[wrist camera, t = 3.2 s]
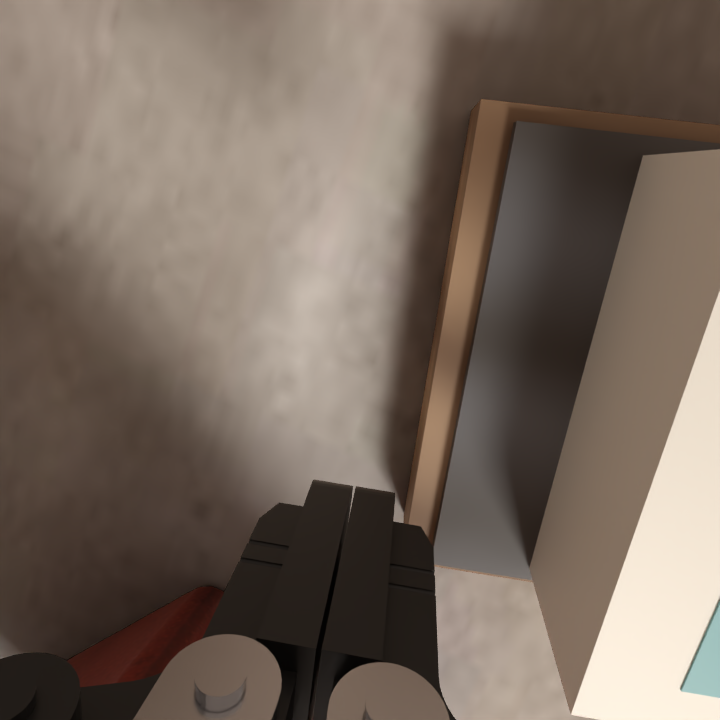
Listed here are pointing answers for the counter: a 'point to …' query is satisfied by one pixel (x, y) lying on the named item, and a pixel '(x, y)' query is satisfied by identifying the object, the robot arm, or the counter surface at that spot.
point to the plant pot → (148, 641)
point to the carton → (644, 469)
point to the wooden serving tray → (521, 318)
